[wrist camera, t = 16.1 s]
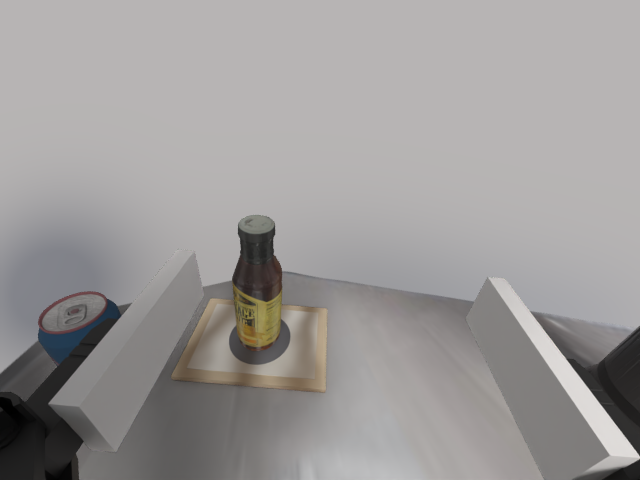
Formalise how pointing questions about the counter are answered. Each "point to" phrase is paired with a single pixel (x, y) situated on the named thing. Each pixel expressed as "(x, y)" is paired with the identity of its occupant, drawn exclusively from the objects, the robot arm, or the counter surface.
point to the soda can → (72, 322)
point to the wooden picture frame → (257, 366)
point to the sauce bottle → (257, 284)
